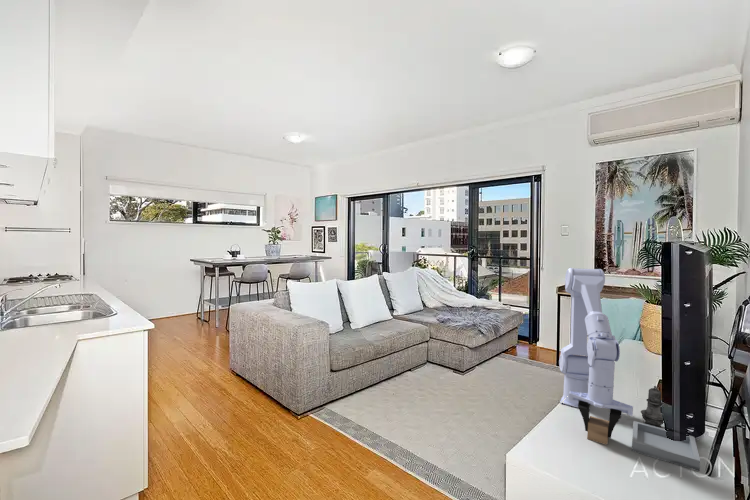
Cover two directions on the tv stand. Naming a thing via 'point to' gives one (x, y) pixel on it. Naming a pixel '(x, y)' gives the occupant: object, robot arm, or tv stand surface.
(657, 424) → the dark grey turned piece
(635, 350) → the tv stand surface
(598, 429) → the block
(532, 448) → the tv stand surface
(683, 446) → the tray
